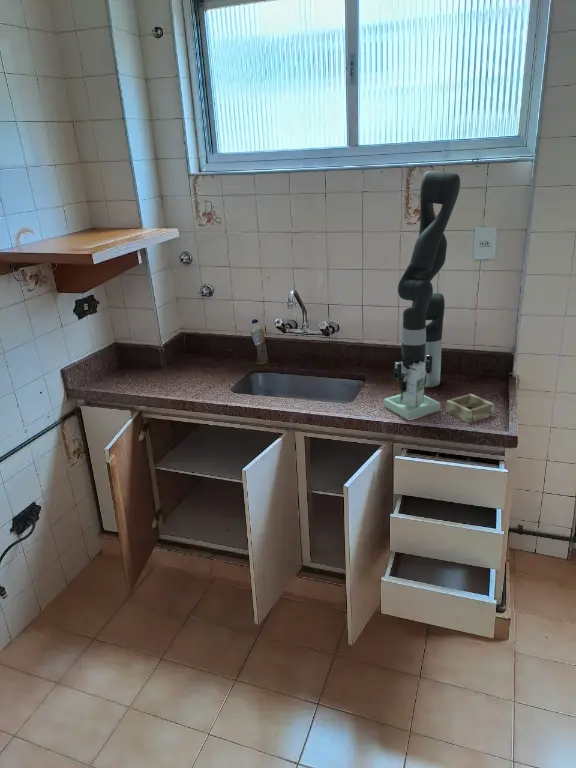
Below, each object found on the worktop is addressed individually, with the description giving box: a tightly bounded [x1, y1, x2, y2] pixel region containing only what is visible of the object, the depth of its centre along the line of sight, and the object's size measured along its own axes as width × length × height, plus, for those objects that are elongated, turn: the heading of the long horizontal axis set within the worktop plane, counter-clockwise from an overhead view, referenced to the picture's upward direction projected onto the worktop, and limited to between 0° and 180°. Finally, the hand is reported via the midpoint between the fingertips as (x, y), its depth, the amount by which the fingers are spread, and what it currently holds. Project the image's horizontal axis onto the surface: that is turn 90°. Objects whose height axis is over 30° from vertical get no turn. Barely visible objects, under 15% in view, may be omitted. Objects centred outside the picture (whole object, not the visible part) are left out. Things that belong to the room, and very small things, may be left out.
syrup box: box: [400, 362, 426, 408], centre depth 190 cm, size 6×6×14 cm
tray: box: [383, 393, 441, 419], centre depth 193 cm, size 13×13×3 cm
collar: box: [445, 393, 495, 424], centre depth 187 cm, size 10×10×4 cm
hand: (412, 388), depth 191 cm, fingers closed on syrup box, 7 cm apart
